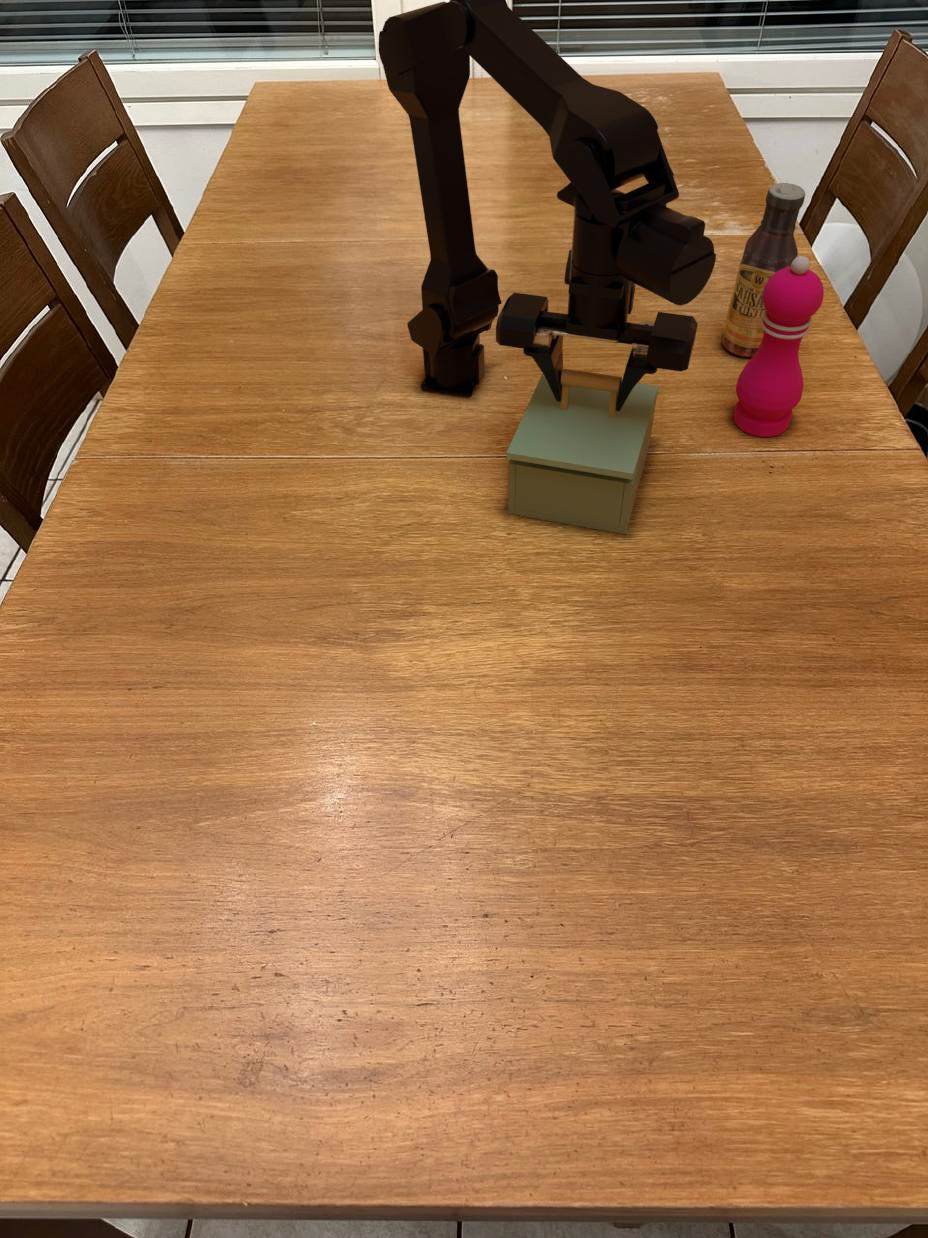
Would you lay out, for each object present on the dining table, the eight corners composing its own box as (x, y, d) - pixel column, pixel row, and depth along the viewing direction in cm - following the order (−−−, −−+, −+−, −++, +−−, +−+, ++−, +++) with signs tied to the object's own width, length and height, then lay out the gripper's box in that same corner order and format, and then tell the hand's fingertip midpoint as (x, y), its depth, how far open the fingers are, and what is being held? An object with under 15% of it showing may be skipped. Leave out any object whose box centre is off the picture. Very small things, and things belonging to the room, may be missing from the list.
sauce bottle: (713, 352, 119) (745, 195, 104) (729, 328, 122) (761, 172, 107) (765, 366, 116) (804, 206, 102) (779, 340, 120) (819, 183, 105)
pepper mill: (794, 443, 106) (842, 277, 91) (728, 436, 108) (765, 272, 93) (792, 405, 111) (838, 241, 96) (729, 399, 112) (765, 236, 97)
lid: (632, 479, 91) (639, 434, 87) (506, 459, 94) (507, 413, 90) (657, 392, 102) (664, 348, 98) (543, 375, 105) (546, 332, 101)
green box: (625, 534, 97) (632, 484, 92) (507, 513, 100) (508, 463, 95) (650, 442, 107) (657, 392, 102) (541, 425, 110) (543, 375, 105)
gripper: (716, 231, 89) (690, 374, 101) (524, 210, 93) (520, 349, 105) (701, 290, 82) (675, 436, 94) (494, 264, 86) (494, 407, 98)
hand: (589, 404), depth 98 cm, fingers closed on lid, 6 cm apart
